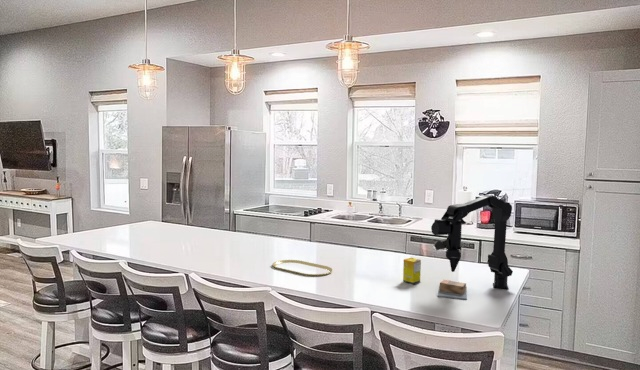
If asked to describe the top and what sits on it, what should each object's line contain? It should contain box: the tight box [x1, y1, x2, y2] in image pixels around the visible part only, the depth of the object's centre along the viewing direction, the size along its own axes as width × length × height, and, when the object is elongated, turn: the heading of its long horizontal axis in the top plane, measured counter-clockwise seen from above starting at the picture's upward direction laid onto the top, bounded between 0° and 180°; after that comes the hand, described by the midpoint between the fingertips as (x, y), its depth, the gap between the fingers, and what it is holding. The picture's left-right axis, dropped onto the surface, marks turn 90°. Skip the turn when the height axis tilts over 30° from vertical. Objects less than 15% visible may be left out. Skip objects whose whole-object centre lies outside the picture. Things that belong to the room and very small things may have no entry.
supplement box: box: [402, 257, 422, 285], centre depth 224 cm, size 6×6×11 cm
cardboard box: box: [439, 279, 467, 294], centre depth 209 cm, size 10×6×4 cm, turn 60°
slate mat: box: [437, 284, 468, 301], centre depth 209 cm, size 18×12×1 cm, turn 163°
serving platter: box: [272, 259, 333, 277], centre depth 246 cm, size 19×35×2 cm, turn 52°
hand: (453, 269), depth 208 cm, fingers open, 9 cm apart
